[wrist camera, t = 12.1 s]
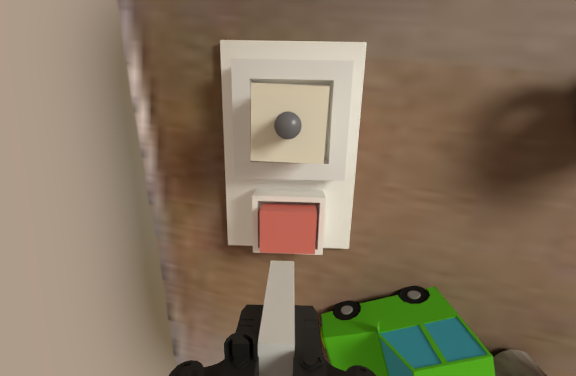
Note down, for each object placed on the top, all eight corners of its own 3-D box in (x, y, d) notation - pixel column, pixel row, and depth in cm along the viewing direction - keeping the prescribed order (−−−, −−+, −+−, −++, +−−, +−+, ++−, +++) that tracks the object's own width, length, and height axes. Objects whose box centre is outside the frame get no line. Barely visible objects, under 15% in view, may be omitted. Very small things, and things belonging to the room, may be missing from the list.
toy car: (314, 298, 31) (322, 379, 22) (428, 272, 30) (491, 345, 20) (334, 365, 34) (350, 465, 24) (441, 344, 32) (503, 440, 23)
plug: (264, 94, 25) (245, 78, 15) (318, 96, 25) (334, 82, 15) (263, 148, 26) (245, 165, 16) (315, 150, 26) (326, 169, 16)
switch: (262, 203, 25) (259, 211, 23) (315, 205, 25) (316, 212, 23) (262, 242, 26) (259, 252, 24) (313, 244, 26) (314, 254, 24)
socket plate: (222, 42, 24) (210, 30, 21) (364, 44, 24) (375, 33, 21) (229, 241, 29) (221, 257, 26) (347, 245, 29) (353, 261, 26)
